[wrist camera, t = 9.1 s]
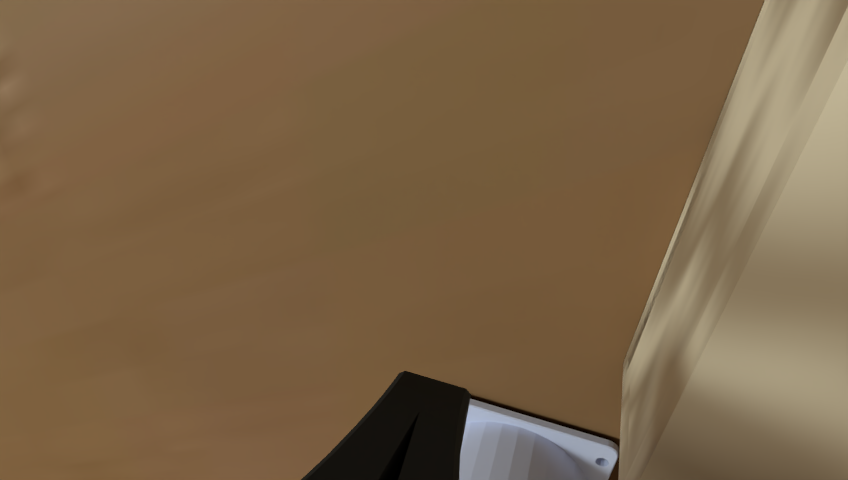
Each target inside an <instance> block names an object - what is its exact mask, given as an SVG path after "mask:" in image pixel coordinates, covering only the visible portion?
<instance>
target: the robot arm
mask: <svg viewBox="0 0 848 480" xmlns="http://www.w3.org/2000/svg"><path fill="white" fill-rule="evenodd" d="M470 397H471V394H470V393H469V392H468V391H467V389H465V388H461V387H458V386H455V385H451V384H448V383H444V382H441V381H438V380H434V379H431V378H428V377H424V376H421V375H417V374H414V373H411V372H407V371H404V372H401V373H399V374H398V376H397V377H396V379H395V380H394V381H393V383H392V384H391V385H390V386H389V388H388V389H387V390H386V391H385V393H384V394H383V395H382V396H381V398H380V399H379V400H378V401H377V402H376V403H375V405H374V406H373V407H372V408H371V409H370V410H369V412H368V413H367V414H366V415H365V416H364V417H363V418H362V419H361V420H360V422H359V423H358V424H357V425H356V426H355V427H354V428H353V429H352V430H351V431H350V432H349V433H348V434H347V435H346V436H345V437H344V438H343V439H342V440H341V442H340V443H339V444H338V445H337V446H336V447H335V448H334V449H333V450H332V451H331V452H330V453H329V454H328V455H327V456H326V457H325V458H324V459H323V460H322V461H321V462H320V463H319V464H317V465H316V466H315V467H314V468H313V469H312V470H311V471H310V472H309V473H308V474H307V475H306V476H305V477H304V478H302V479H301V480H608V479H609V477H610V475H611V473H612V470H613V468H614V466H615V464H616V461H617V459H618V452H619V448H618V446H617V445H616V444H615V443H614V442H612V441H610V440H607V439H604V438H601V437H597V436H594V435H591V434H587V433H584V432H581V431H577V430H574V429H571V428H567V427H564V426H561V425H557V424H554V423H551V422H547V421H544V420H541V419H537V418H534V417H531V416H527V415H524V414H520V413H517V412H514V411H510V410H507V409H504V408H500V407H497V406H494V405H490V404H487V403H484V402H480V401H477V400H474V399H470ZM603 458H604V459H603Z"/></svg>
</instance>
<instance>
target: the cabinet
mask: <svg viewBox="0 0 848 480" xmlns="http://www.w3.org/2000/svg"><path fill="white" fill-rule="evenodd" d="M618 480H848V0H765V2H764V4H763V7H762V9H761V12H760V14H759V17H758V19H757V22H756V25H755V27H754V30H753V32H752V35H751V37H750V40H749V43H748V45H747V48H746V50H745V53H744V55H743V58H742V60H741V63H740V66H739V68H738V71H737V73H736V76H735V78H734V81H733V84H732V86H731V89H730V91H729V94H728V96H727V99H726V101H725V104H724V107H723V109H722V112H721V114H720V117H719V119H718V122H717V125H716V127H715V130H714V132H713V135H712V137H711V140H710V142H709V145H708V148H707V150H706V153H705V155H704V158H703V160H702V163H701V165H700V168H699V171H698V173H697V176H696V178H695V181H694V183H693V186H692V189H691V191H690V194H689V196H688V199H687V201H686V204H685V206H684V209H683V212H682V214H681V217H680V219H679V222H678V224H677V227H676V230H675V232H674V235H673V237H672V240H671V242H670V245H669V247H668V250H667V253H666V255H665V258H664V260H663V263H662V265H661V268H660V271H659V273H658V276H657V278H656V281H655V283H654V286H653V288H652V291H651V294H650V296H649V299H648V301H647V304H646V306H645V309H644V312H643V314H642V317H641V319H640V322H639V324H638V327H637V329H636V332H635V335H634V337H633V340H632V342H631V345H630V347H629V350H628V353H627V355H626V358H625V360H624V363H623V385H622V408H621V432H620V455H619V478H618Z"/></svg>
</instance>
